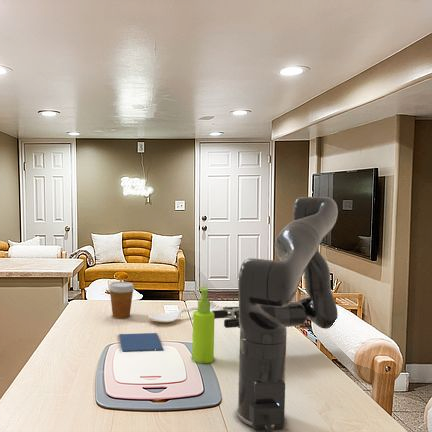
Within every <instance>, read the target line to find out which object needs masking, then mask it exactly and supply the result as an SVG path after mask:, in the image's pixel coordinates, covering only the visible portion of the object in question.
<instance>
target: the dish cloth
mask: <svg viewBox="0 0 432 432" xmlns="http://www.w3.org/2000/svg"><path fill="white" fill-rule="evenodd" d="M119 340H120V345H121V351H122V352H123V353H125V352H126V353H127V352H149V351H150V352H152V351H153V352H154V350H155V349H156V351H164V347H163V345H162V343H161V340H160V339H159V336H158V334H157V332H149V333H148V332H146V333H119Z"/></svg>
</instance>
